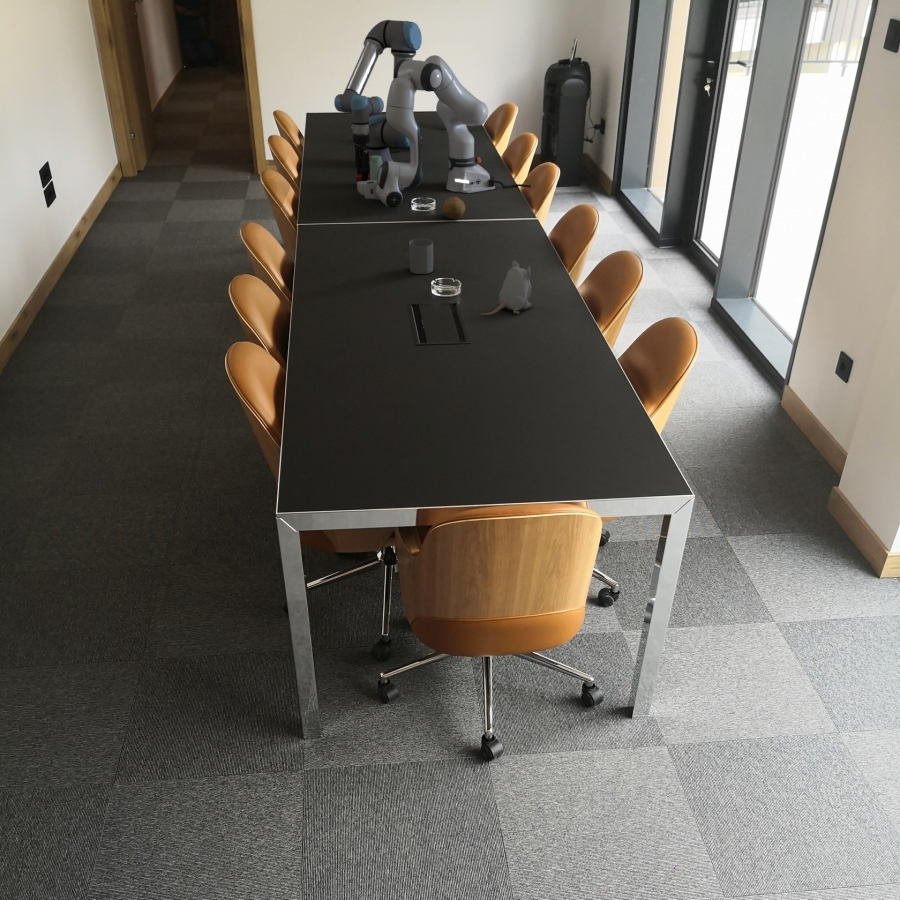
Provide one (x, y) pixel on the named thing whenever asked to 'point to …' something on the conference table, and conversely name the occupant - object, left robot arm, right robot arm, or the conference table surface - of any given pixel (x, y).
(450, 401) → the conference table surface
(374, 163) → the jar
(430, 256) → the cup
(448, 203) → the potato
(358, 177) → the lid
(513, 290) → the toy
